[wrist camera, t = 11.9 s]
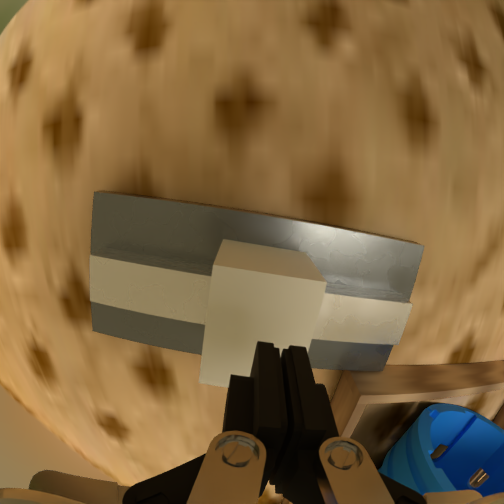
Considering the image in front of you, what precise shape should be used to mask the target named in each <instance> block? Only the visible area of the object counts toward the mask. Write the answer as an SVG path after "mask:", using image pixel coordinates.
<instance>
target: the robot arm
mask: <svg viewBox="0 0 504 504" xmlns="http://www.w3.org/2000/svg"><path fill="white" fill-rule="evenodd" d="M268 480H269V483H270V485H275V493H278V494H283V497H284V498H286V499H287V500H288V501H290V502H289V504H504V492H500V493H496V494H492V495H489V496H486V497H482V495H481V494H480V493H479V492H477V491H475V490H460V491H448V492H431V493H425V494H424V495H423V496H422V495H421V494H420V493H418V492H417V491H415V490H413V489H411V488H409V487H407V486H405V485H403V484H401V483H399V482H397V481H395V480H393V479H391V478H389V477H387V476H386V475H384V474H382V473H380V472H378V471H377V469H376V467H375V465H374V463H373V462H372V460H371V458H370V456H369V454H368V452H367V451H366V449H365V448H364V447H363V445H361V444H360V443H359V442H357V441H355V440H353V439H351V438H347V437H339V433H338V430H337V426H336V422H335V419H334V415H333V412H332V408H331V405H330V401H329V398H328V394H327V391H326V388H325V385H323V384H315V380H314V376H313V372H312V368H311V364H310V361H309V357H308V353H307V349H306V347H303V346H294V345H290V346H289V347H288V349H285V348H283V350H282V353H281V357H280V350H279V348H276V347H274V343H270V342H262V341H257V345H256V349H255V354H254V359H253V364H252V368H251V373H250V377H247V376H240V375H233V374H231V375H230V381H229V387H228V393H227V399H226V406H225V413H224V422H223V430H222V433H220V434H218V435H217V436H216V437H214V438H213V440H212V441H211V443H210V445H209V447H208V450H207V453H206V454H204V455H202V456H199V457H197V458H195V459H193V460H191V461H189V462H187V463H185V464H182V465H180V466H178V467H176V468H174V469H171V470H169V471H167V472H164V473H162V474H159V475H157V476H155V477H152V478H150V479H147V480H145V481H142V482H139V483H137V484H135V485H133V486H131V487H128V486H119V485H118V483H117V482H110V481H103V480H97V479H90V478H85V477H80V476H75V475H71V474H66V473H62V472H58V471H53V470H44V471H40V472H38V473H36V474H35V475H34V476H33V477H32V479H31V481H30V485H29V489H21V488H0V504H257V502H258V498H259V497H260V496H262V494H263V491H264V489H265V487H266V485H267V482H268Z"/></svg>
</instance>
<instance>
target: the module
mask: <svg viewBox="0 0 504 504" xmlns="http://www.w3.org/2000/svg"><path fill="white" fill-rule="evenodd" d="M326 285H327V282H326V280H325V279H324V277H323V276H322V275H321V273H320V272H319V270H318V269H317V268H316V266H315V265H314V263H313V262H312V261H311V259H310V258H309V257H308V255H307V254H306V252H300V251H294V250H288V249H281V248H275V247H269V246H263V245H257V244H251V243H245V242H239V241H233V240H226V239H223V241H222V243H221V246H220V248H219V251H218V253H217V256H216V259H215V261H214V264H213V269H212V277H211V284H210V292H209V299H208V307H207V315H206V323H205V331H204V340H203V348H202V357H201V366H200V375H199V383H202V384H208V385H214V386H220V387H227V388H228V387H229V381H230V375H231V374H233V375H240V376H247V377H250V373H251V368H252V364H253V359H254V354H255V349H256V345H257V341H262V342H270V343H274V347H276V348H279V350H280V357H281V353H282V350H283V348H285V349H288V347H289V346H290V345H294V346H303V347H306V349H307V353H308V350H309V347H310V343H311V340H312V337H313V333H314V330H315V326H316V322H317V319H318V315H319V312H320V308H321V304H322V300H323V296H324V293H325V289H326Z"/></svg>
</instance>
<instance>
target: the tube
mask: <svg viewBox="0 0 504 504" xmlns="http://www.w3.org/2000/svg"><path fill="white" fill-rule="evenodd" d="M440 444H442V445H445V446H448V448H447V449H446V450H445V451H444V452H443V453H442V454H441V455H440V456H439V457H438V458H435V459H431V457H430V454H431V453H432V452H433V451H434V450H435V449H436V448H437V447H438V446H439V445H440ZM480 467H481V468H482V469H483V470H484V471H485V472H486V474H487V475H488V476H489V478H488V479H487V480H486V481H485V482H484V483H483V484H481V485H480V486H479V487H476V488H474V487H472V486H471V485H470V482H469V481H470V478H471V477H472V475H473V474H475V473H476V472H477V471H478V470H479V469H480ZM378 472H380V473H382V474H384V475H386V476H387V477H389V478H391V479H393V480H395V481H397V482H399V483H401V484H403V485H405V486H407V487H409V488H411V489H413V490H415V491H417V492H418V493H420V494H421V495H422V496H423V495H424V494H425V493H431V492H448V491H460V490H475V491H477V492H479V493H480V494H481V495H482V497H486V496H489V495H492V494H496V493H500V492H504V430H503V429H502V428H500V427H499V426H498V425H496V424H495V423H493V422H492V421H490V420H489V419H487V418H485V417H484V416H482V415H480V414H478V413H476V412H474V411H472V410H469V409H467V408H464V407H461V406H458V405H453V404H446V403H439V404H433V405H431V406H429V407H427V408H426V409H425V410H424V411H423V412H422V413H421V414H420V416H419V417H418V418H417V419H416V421H415V422H414V423H413V424H412V425H411V427H410V428H409V429H408V430H407V431H406V432H405V434H404V435H403V436H402V437H401V438H400V439H399V440H398V441H397V443H396V444H395V445H394V446H393V447H392V448H391V449H390V450H389V452H388V453H387V455H386V457H385V459H384V462H383V465H382V467H381V468H380V469H379V470H378Z"/></svg>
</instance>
